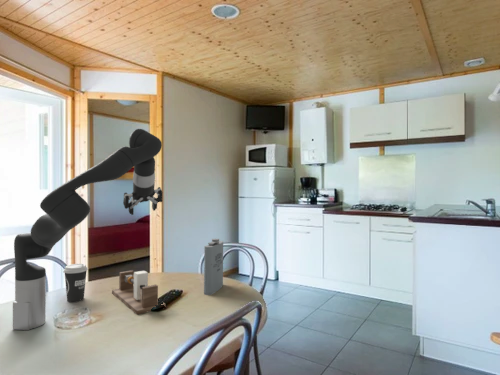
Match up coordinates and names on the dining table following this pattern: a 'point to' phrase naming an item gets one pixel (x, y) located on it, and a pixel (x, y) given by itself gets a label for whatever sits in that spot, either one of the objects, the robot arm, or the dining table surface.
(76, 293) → the coffee cup
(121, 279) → the cord stand
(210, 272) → the flask
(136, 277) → the white slider block
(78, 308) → the dining table surface
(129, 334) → the dining table surface
